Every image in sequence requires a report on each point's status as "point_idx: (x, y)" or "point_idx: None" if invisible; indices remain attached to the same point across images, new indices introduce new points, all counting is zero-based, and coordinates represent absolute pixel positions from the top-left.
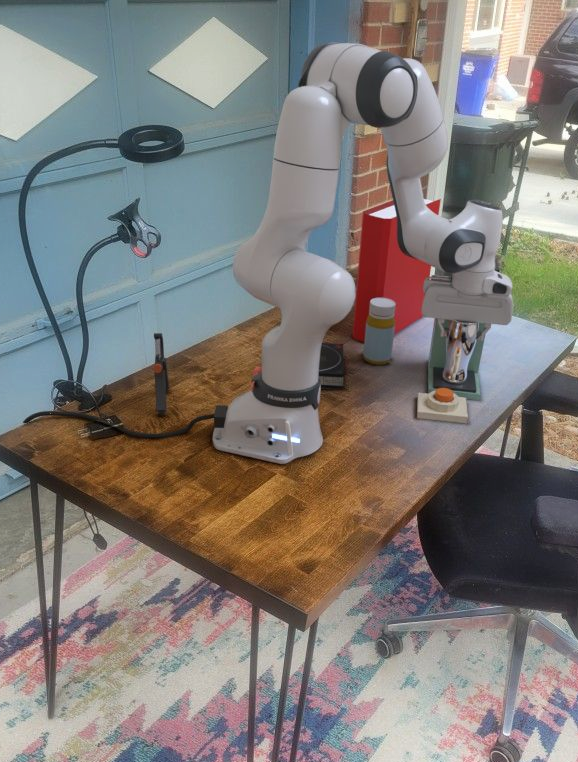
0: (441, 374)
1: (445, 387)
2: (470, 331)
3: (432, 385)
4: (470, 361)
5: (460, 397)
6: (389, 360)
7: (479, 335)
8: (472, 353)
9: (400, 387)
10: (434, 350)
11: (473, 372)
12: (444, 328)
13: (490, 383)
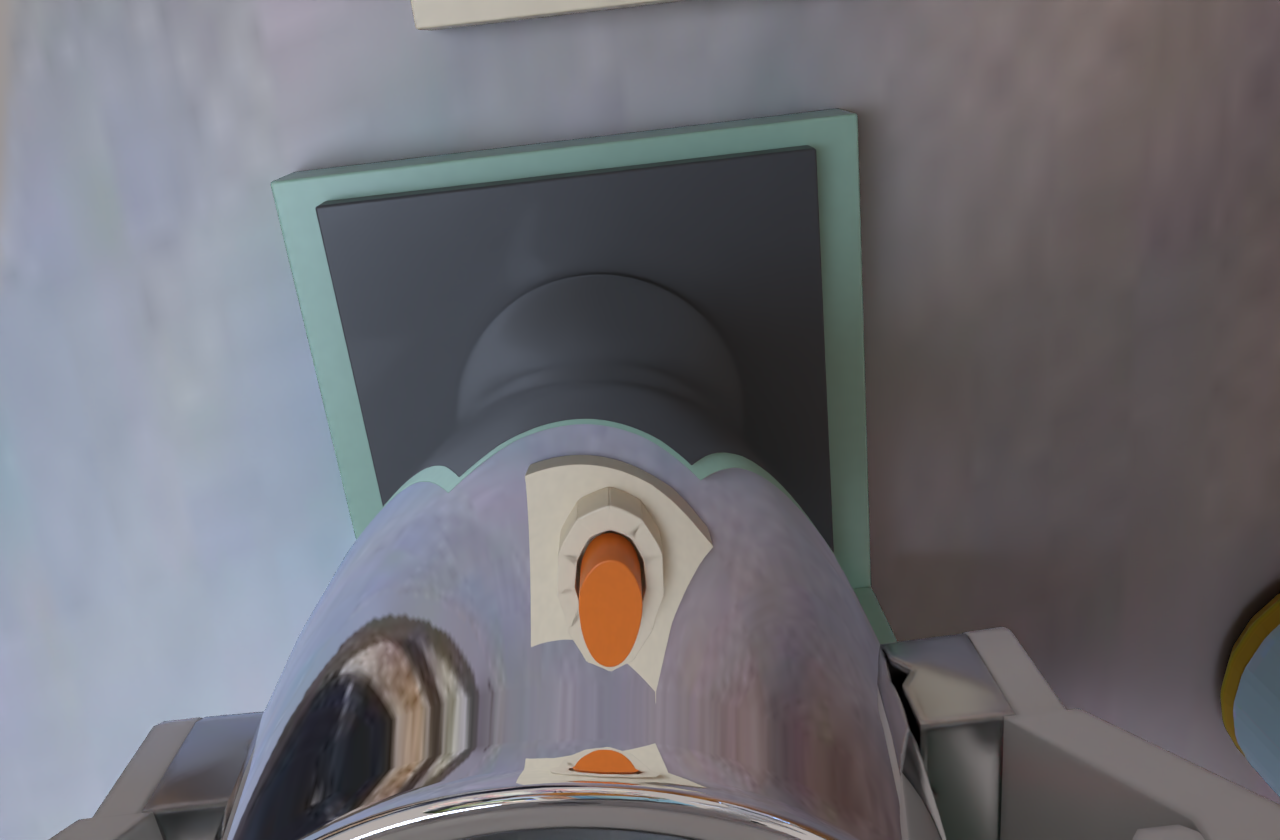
0: None
1: (677, 164)
2: (364, 675)
3: (822, 215)
4: None
5: (479, 5)
6: (1241, 648)
7: (209, 779)
8: None
9: (1134, 186)
10: None
11: None
12: (996, 802)
13: (252, 568)
